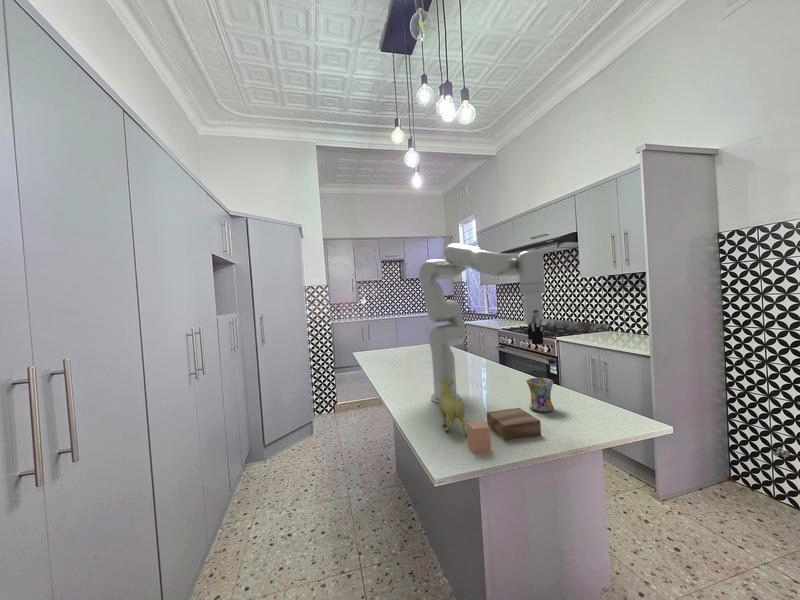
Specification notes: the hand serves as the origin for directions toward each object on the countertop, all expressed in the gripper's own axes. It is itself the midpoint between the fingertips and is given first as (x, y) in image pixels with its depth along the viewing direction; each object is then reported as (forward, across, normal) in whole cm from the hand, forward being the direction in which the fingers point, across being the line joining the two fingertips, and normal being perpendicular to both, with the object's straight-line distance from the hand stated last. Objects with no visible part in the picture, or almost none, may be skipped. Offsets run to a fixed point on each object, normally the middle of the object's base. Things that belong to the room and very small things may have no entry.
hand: (535, 341), depth 106 cm
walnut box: (+28, +3, -9) cm, 30 cm away
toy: (+28, +2, -29) cm, 40 cm away
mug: (+28, -18, +2) cm, 34 cm away
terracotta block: (+28, +17, -19) cm, 38 cm away
